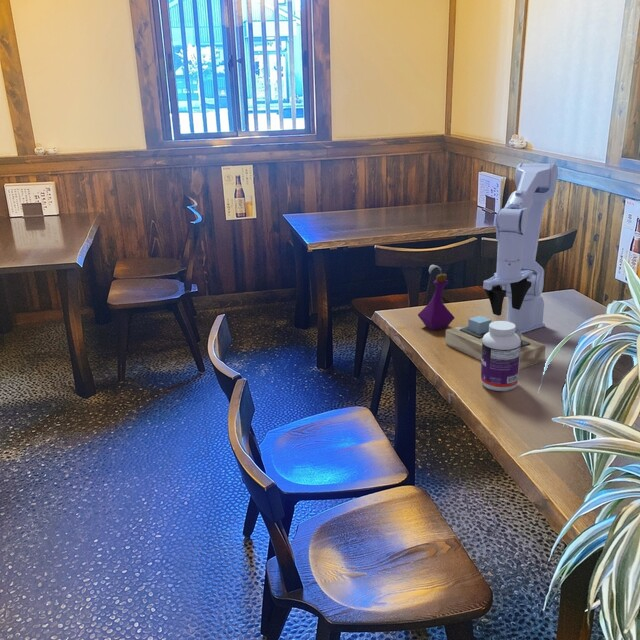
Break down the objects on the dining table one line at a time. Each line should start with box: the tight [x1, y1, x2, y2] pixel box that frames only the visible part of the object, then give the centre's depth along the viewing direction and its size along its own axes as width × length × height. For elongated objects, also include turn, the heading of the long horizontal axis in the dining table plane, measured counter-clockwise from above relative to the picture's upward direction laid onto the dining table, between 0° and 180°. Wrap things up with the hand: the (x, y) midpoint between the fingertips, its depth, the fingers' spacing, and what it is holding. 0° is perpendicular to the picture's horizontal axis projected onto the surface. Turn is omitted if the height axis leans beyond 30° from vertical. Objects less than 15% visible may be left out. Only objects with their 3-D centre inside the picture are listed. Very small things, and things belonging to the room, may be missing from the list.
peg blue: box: [467, 315, 492, 335], centre depth 158 cm, size 4×4×4 cm
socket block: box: [445, 323, 547, 370], centre depth 155 cm, size 12×22×4 cm, turn 30°
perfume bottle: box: [417, 264, 455, 331], centre depth 171 cm, size 8×8×18 cm
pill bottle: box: [480, 320, 521, 392], centre depth 136 cm, size 8×8×14 cm
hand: (506, 311), depth 154 cm, fingers open, 6 cm apart
